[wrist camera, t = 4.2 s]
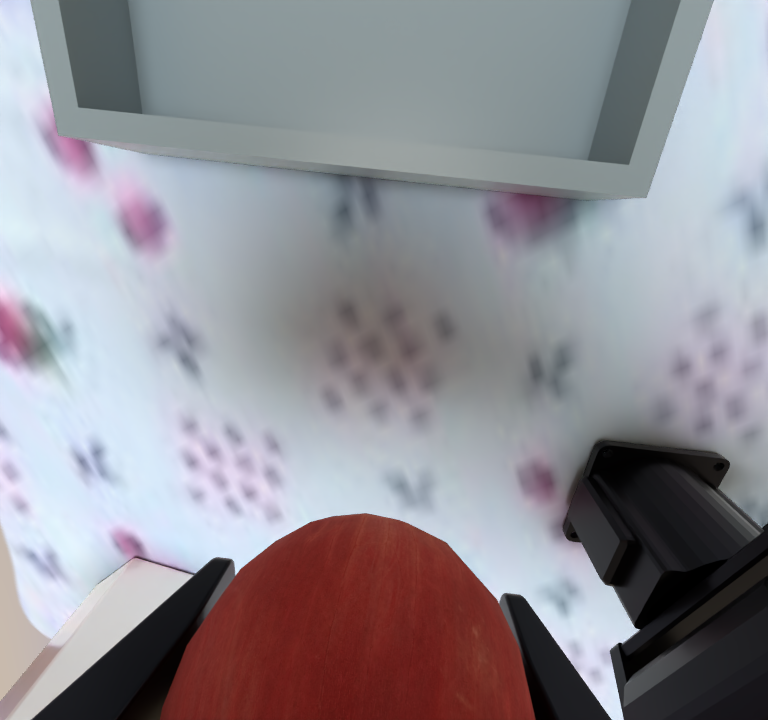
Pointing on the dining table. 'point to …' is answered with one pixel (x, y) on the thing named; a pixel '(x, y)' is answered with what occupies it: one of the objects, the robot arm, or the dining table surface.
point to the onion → (353, 634)
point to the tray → (382, 86)
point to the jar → (91, 633)
